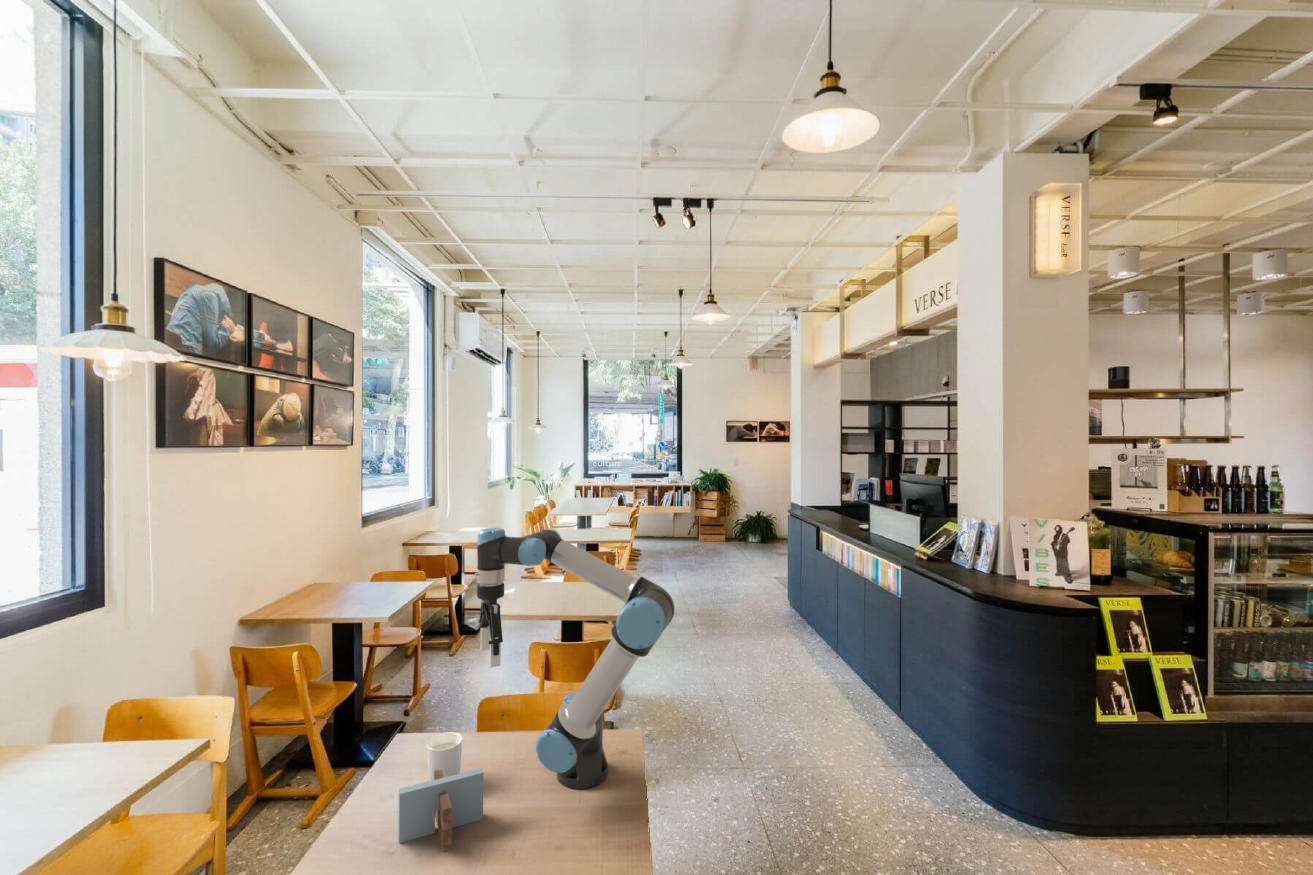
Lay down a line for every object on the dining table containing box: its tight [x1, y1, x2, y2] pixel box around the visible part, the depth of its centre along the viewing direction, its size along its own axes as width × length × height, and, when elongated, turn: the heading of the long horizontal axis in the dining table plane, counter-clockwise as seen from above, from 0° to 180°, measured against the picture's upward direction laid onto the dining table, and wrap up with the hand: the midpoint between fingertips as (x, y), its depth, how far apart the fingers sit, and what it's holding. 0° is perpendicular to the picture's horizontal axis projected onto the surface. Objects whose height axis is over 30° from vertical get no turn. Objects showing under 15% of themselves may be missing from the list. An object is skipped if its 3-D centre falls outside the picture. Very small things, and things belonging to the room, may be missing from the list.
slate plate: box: [397, 767, 485, 844], centre depth 145 cm, size 20×2×12 cm, turn 118°
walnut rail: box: [434, 769, 453, 852], centre depth 145 cm, size 2×18×10 cm, turn 27°
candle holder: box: [425, 731, 464, 782], centre depth 164 cm, size 10×10×12 cm
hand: (490, 657), depth 162 cm, fingers open, 13 cm apart
